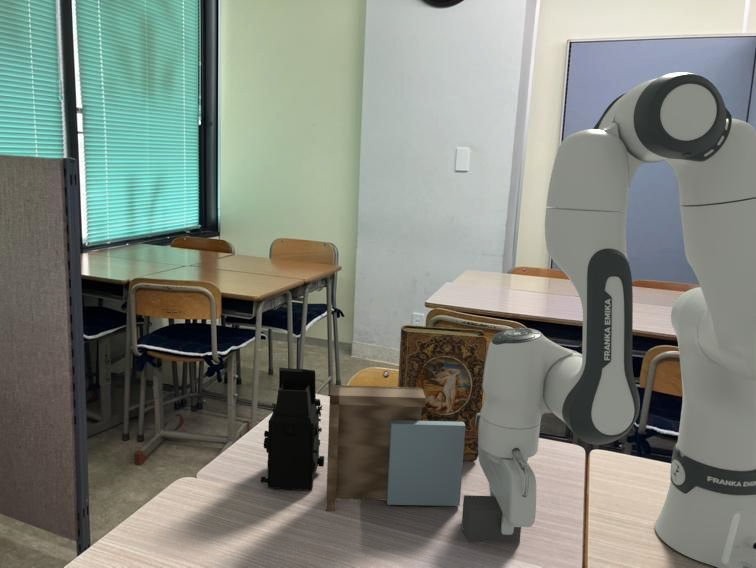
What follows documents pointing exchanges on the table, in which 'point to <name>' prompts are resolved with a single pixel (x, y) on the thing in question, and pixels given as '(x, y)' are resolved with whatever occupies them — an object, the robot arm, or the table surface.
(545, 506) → the table surface
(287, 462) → the camera
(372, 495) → the open wooden box
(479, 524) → the block
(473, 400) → the book
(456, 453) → the door panel
